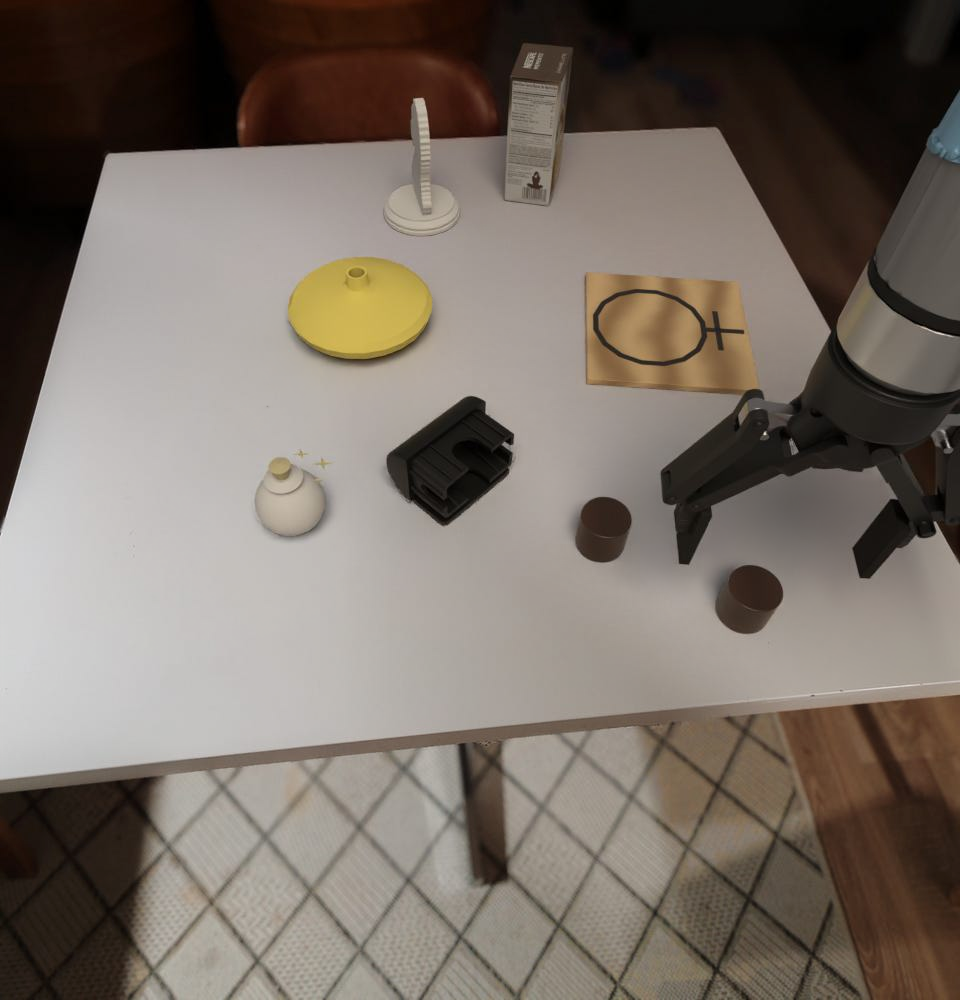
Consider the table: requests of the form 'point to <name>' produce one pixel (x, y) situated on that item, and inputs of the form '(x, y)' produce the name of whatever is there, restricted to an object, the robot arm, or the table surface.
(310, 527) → the ornament
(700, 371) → the drawing board
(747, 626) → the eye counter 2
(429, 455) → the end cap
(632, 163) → the table surface
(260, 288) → the table surface
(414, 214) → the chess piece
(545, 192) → the coffee box
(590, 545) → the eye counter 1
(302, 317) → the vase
